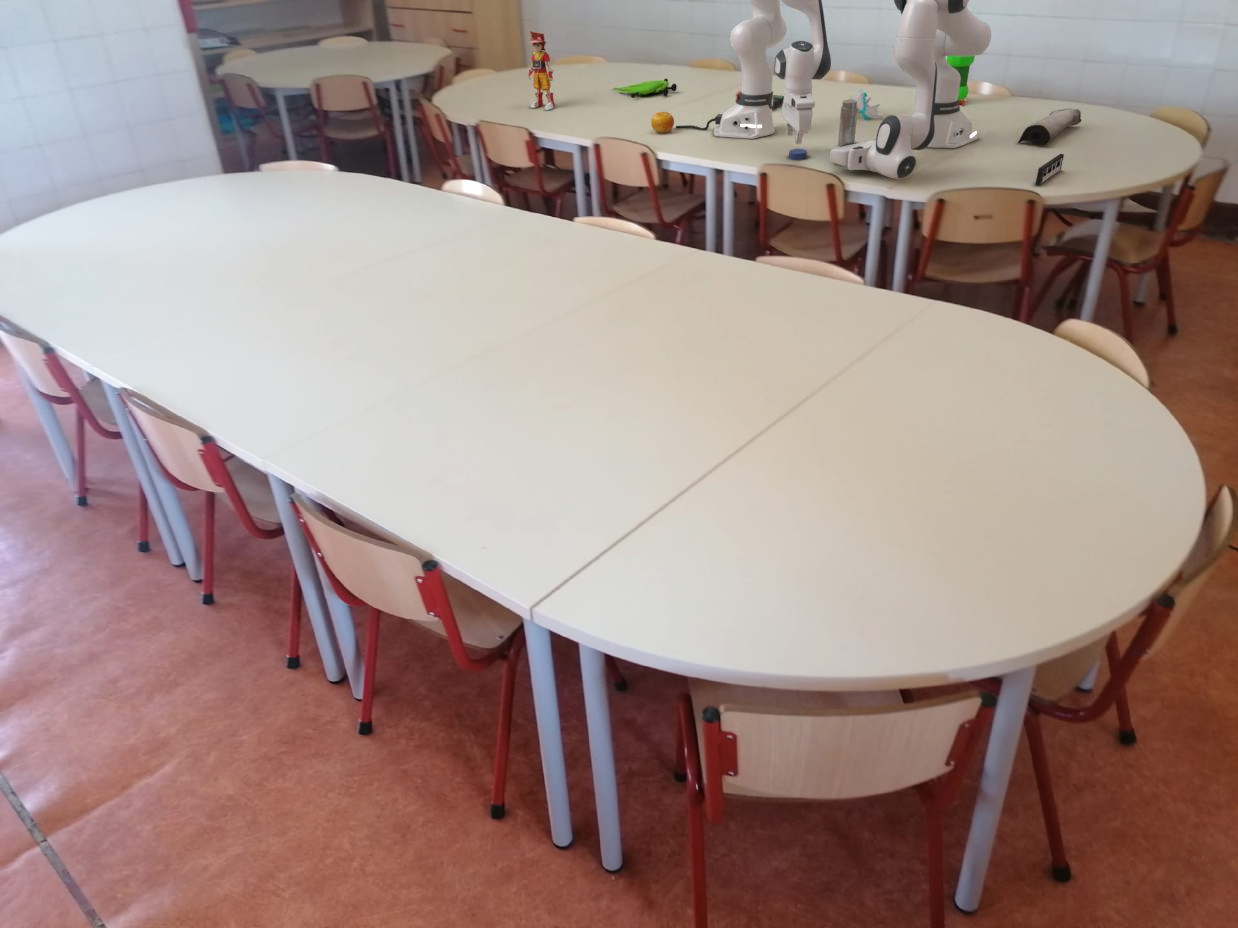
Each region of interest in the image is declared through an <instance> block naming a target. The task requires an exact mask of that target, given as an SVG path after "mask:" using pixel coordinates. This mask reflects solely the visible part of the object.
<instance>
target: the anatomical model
mask: <svg viewBox="0 0 1238 928" xmlns="http://www.w3.org/2000/svg"><path fill="white" fill-rule="evenodd" d="M866 97H867V98H866ZM871 99H872V98H871V97H870V96H869V97H868V94H867V92H866V91H864V90H863V89H862V88H861V89H859V90H858V92H857V93H856V94H853V95H851V96H850V99H849V100H856V101H857V107H858V111H857V112H860V114H861V116H862V117H863V119H864V120H871V119H873V118H879V119H880V118H883V117H884V116H885V115H884V113H879V112H878V111H877V110H878V108H879V107H880V106H881V104H880V103H875V104H874V105H869V102H870V101H871Z"/></svg>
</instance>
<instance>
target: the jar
mask: <svg viewBox="0 0 1238 928" xmlns="http://www.w3.org/2000/svg"><path fill="white" fill-rule="evenodd" d="M858 112H859V111H858V107H857V101H856V100H850V99H844V100H843V101H842V106H841V107H840V117H839V125H838V126H839V127H838V137H837V138H838V139H837V145H841V146H842V147H843V146H847V145H852V144H854V142H856V131H857V120H858ZM837 165H838V166H840V165H839V164H837Z"/></svg>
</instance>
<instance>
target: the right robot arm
mask: <svg viewBox="0 0 1238 928" xmlns="http://www.w3.org/2000/svg"><path fill="white" fill-rule="evenodd" d="M893 1H894V2H893V3H894V5H895V7H896V8H897V10H898V11H900V15H901V17H900V20H899V23H898V26H897V31H896V37H895V41H894V47H893V58H894V61H895V64H896V65H897V66H898V68H900V70H902V71H903V72H905V73H906V74H908V75H909V76H910V78H912V80H913V81H914V84H915V96H914V97H915V98H914V108H913V109H914V111H913V113H912V115H902V114H901V115H900V114H894V115H893V114H890V115H888V116H886V117H885V118H884V119H883V120H882V121H881V122H880V124H879V126H878V129H877V132H876V137H875V139H870V140H866V141H865V140H864V141H855V142H854V144H852V145H847V146H843V147H842V146H841V145H838V144H836V145H834V148H831V149H830V153H829V159H830V162H832V163H834V164H836V165H838V164H839V165H838V166H841V167H847V170H849V171H866V172H867V171H871V172H873V173H878V174H880V175H882V176H884V177H887V178H892V179H896V180H897V179H905V178H906V177H908V176H909V175H910V174H912V172H913V171H914V169H915V168H916V165H917V159H916V157H915V155H914V153H913V151H922V150H925V149H926V148H934V149H935V148H936V149H937V148H939V149H940V148H941V149H942V148H944V149H955V148H958V147H959V148H960V147H961V146H964V145H967V144H970V143H972V142H975V141H978V135H977V131H974V132H973V131H972V130H973V124H972V120H971V119H970V118H969V117H968V116H966V115H965V114H964V113H963V112H962V111H961V107H965V106H967V103H968V102H967V100H966V99H964V100H962V99H961V100H958V93H959V87H960V81H961V77H960V74H959V72H958V71H957V70H956V69H955V68H953V67H951V66H950V65H949V64H948V63H947V56H959V57H968V56H975V57H976V56H981V55H982V54H983V53H985V51H986V50H987V49H988V47H989V46H990V44H991V40H992V30H991V27H990V25H989V23H988V22H986V21H985V20H982V19H980V18H978V17H977V16H975V15H974V14H973V13H972V11H970V10H969V8H968V7H967V6H968V3H969V1H970V0H893Z"/></svg>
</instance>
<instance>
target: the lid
mask: <svg viewBox="0 0 1238 928" xmlns="http://www.w3.org/2000/svg"><path fill="white" fill-rule="evenodd" d="M807 157H808V151H807V150H806V149H803V148H792V149H790V150H789V151H788V159H790V160H794V161H800V160H805V159H807Z"/></svg>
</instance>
